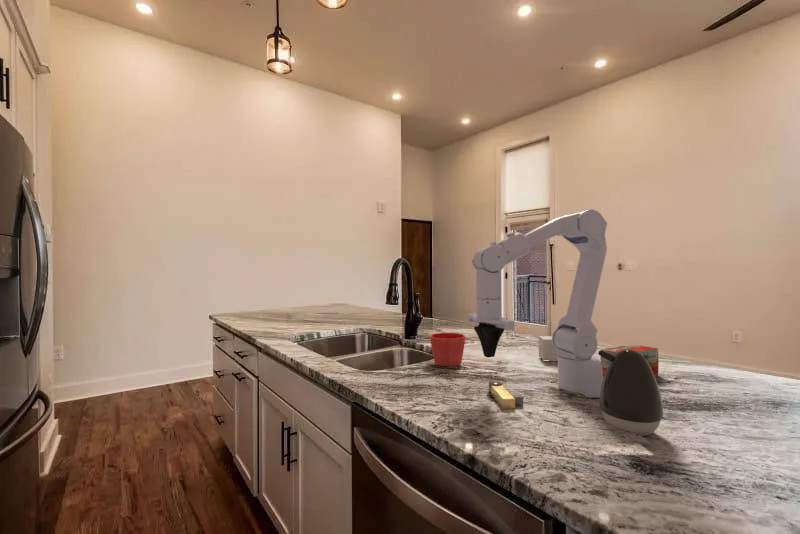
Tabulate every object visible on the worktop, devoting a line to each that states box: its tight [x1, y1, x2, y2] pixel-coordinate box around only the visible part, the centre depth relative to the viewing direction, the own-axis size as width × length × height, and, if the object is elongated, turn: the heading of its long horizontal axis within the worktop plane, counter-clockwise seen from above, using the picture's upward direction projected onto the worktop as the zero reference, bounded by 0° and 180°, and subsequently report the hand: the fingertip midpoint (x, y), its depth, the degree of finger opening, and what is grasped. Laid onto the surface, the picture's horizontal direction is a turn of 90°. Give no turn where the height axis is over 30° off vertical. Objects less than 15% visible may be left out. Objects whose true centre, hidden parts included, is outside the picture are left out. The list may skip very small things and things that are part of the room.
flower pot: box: [429, 332, 466, 367], centre depth 116 cm, size 11×11×10 cm
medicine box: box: [599, 343, 660, 377], centre depth 106 cm, size 15×8×8 cm, turn 120°
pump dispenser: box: [597, 349, 664, 437], centre depth 71 cm, size 10×10×15 cm
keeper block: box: [507, 390, 524, 407], centre depth 81 cm, size 2×4×2 cm, turn 179°
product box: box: [538, 335, 558, 361], centre depth 125 cm, size 6×6×7 cm
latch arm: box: [488, 380, 516, 410], centre depth 84 cm, size 12×3×2 cm, turn 2°
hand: (489, 356), depth 88 cm, fingers closed
